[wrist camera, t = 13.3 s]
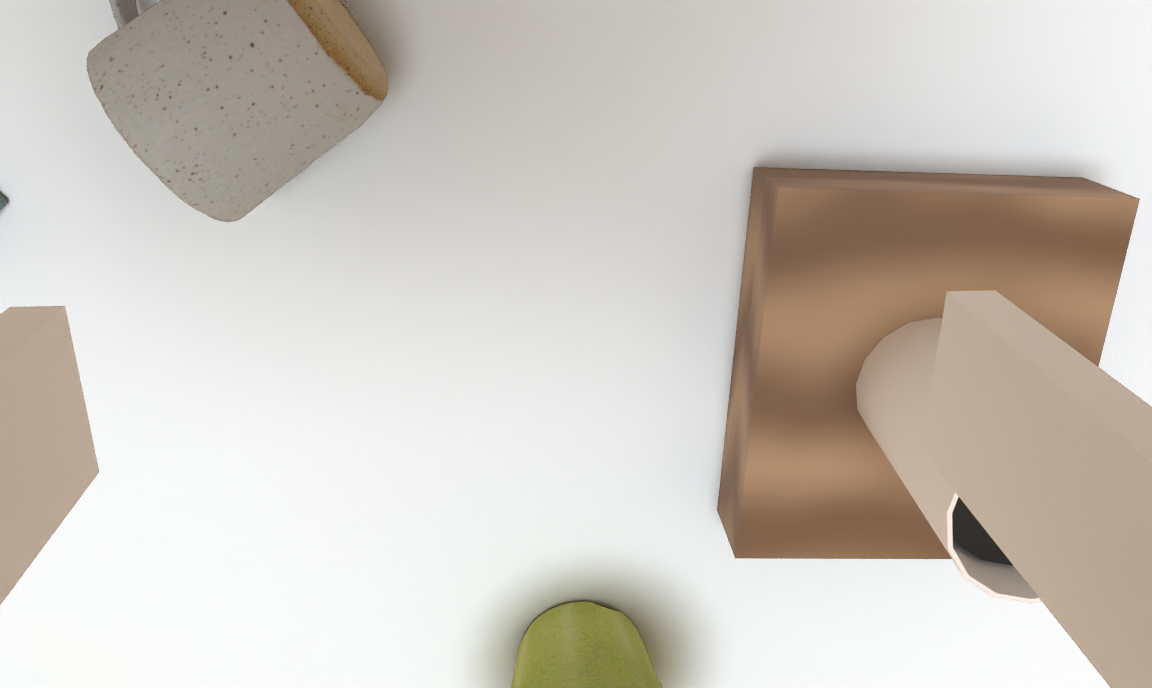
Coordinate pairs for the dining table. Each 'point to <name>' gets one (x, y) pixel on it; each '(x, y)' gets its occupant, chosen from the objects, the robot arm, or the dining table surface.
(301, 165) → the ceramic mug
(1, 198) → the dish towel
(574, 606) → the plant pot
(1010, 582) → the beige hollow cylinder
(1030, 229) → the walnut riser block
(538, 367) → the dining table surface
